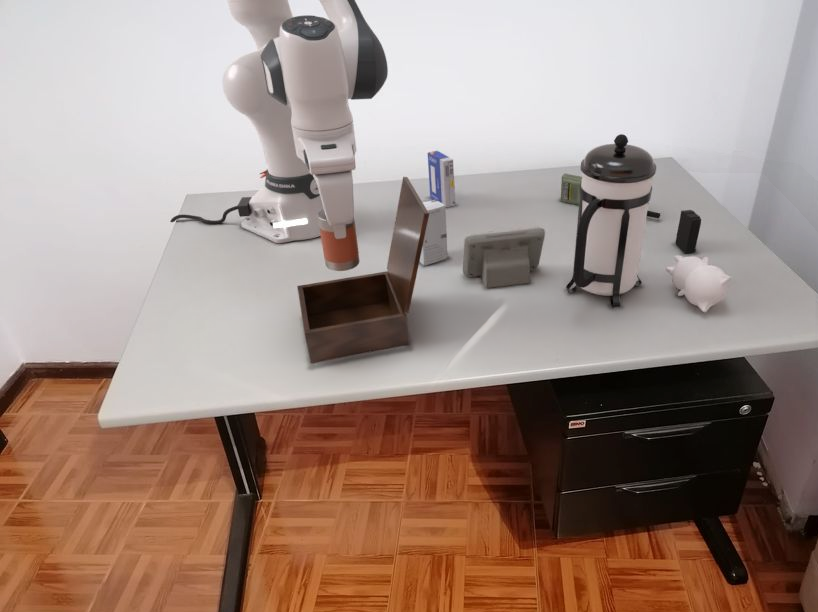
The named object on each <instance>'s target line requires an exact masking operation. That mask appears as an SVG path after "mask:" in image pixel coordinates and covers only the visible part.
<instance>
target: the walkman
mask: <svg viewBox="0 0 818 612" xmlns="http://www.w3.org/2000/svg"><path fill="white" fill-rule="evenodd" d="M427 166H428V167H427V169H428V182H429V197H430V199H432V200H437V201H439V202H440V203H442V204H444V205H445V206H446V208H450V207H455V206H456V192H455V191H456V190H455V189H456V187H455V173H454V171H455V170H454V159H453V158H452V157H450V156H448V155H446V154H445V153H443V152H441V151H439V150H434V151H433V150H432V151H429V152H427Z"/></svg>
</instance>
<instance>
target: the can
mask: <svg viewBox="0 0 818 612" xmlns="http://www.w3.org/2000/svg"><path fill="white" fill-rule="evenodd" d="M318 221H319V229H320V235H321V236H320V241H321V247H322V253H323V258H324V263H325V267H326V268H327V269H328V270H331V271H334V272H345V271H350V270H353V269H355V268H356V267H358V265H359V264H360V251H359V243H358V236H357V229H356V222H355V216H354V217H353V222H352V223H350V224H346V226H345V228H346V237H345V238H341V239H337V238H335V235H334V230H333V226H331V225H329V223H328V221H327V218H326V215H325V211H324V209H322V210H320V211H319V212H318Z"/></svg>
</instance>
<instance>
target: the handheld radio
mask: <svg viewBox="0 0 818 612" xmlns="http://www.w3.org/2000/svg"><path fill="white" fill-rule="evenodd" d="M581 181H582V176H580V175H574V174H569V173H563V174H561V185H560V201H561V202H562V203H568V204H572V205H573V204H574V205H576V206H577V205H578V206H579V202H580V195H579V191H580V183H581ZM646 217H649V218H654V219H660V217H661V212H656V211H651V210H647V216H646Z"/></svg>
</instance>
